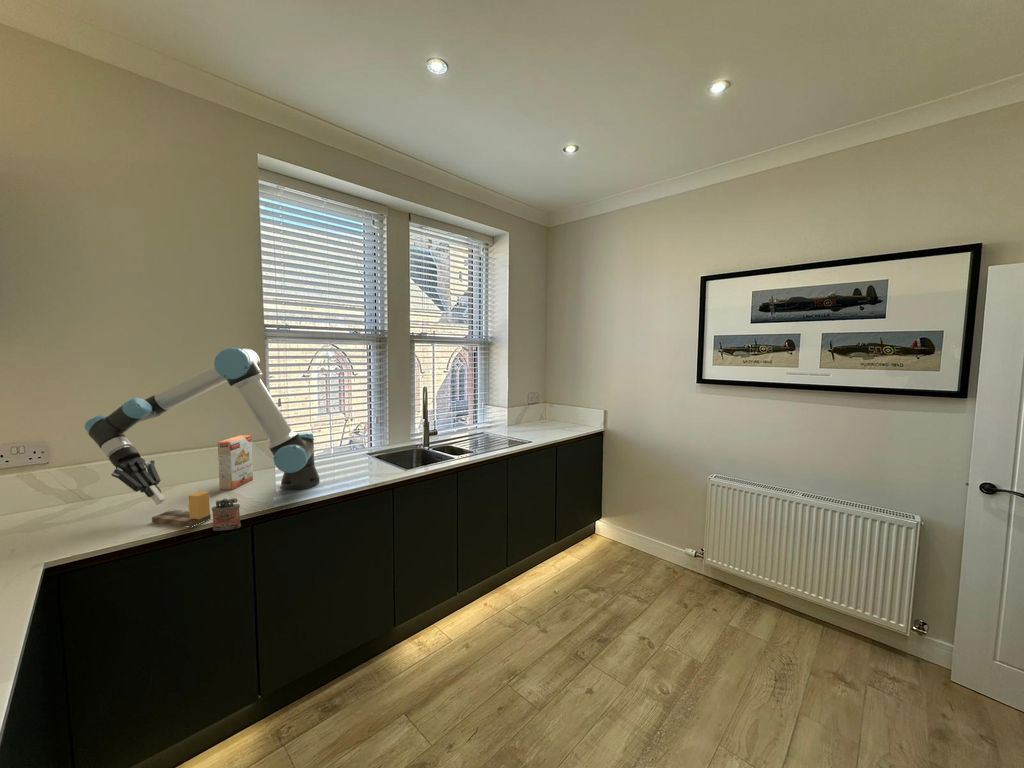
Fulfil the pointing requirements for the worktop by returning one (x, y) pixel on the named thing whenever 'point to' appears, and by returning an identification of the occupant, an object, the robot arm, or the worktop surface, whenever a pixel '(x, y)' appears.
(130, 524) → the worktop surface
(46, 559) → the worktop surface
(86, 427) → the robot arm
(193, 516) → the orange rectangular block
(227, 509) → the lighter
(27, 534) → the worktop surface
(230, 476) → the cracker box
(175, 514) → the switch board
